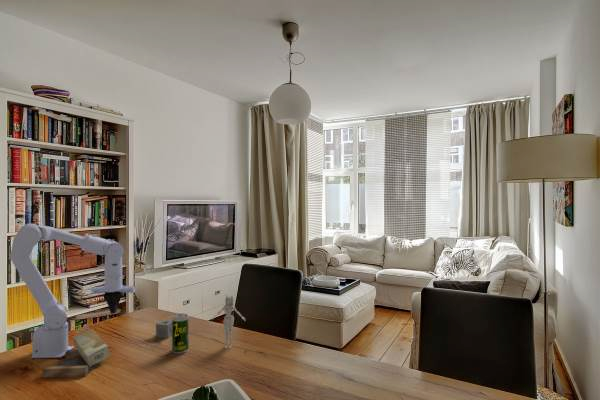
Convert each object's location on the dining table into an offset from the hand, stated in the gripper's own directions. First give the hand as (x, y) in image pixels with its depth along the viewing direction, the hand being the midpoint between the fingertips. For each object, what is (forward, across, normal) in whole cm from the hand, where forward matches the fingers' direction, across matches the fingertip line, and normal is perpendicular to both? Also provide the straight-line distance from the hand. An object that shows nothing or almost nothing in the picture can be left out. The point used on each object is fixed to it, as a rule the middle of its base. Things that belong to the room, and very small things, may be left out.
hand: (113, 312), depth 132 cm
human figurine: (+11, +42, -7) cm, 44 cm away
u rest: (+10, -3, -19) cm, 22 cm away
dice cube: (+11, +17, +5) cm, 21 cm away
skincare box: (+8, +4, -19) cm, 21 cm away
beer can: (+11, +26, -9) cm, 29 cm away
